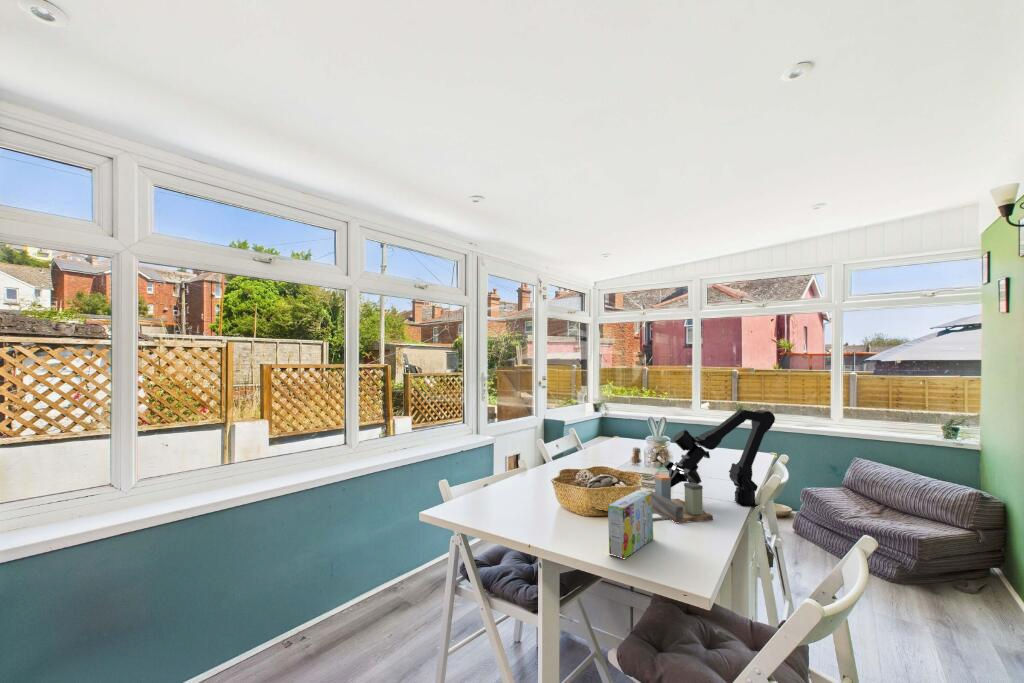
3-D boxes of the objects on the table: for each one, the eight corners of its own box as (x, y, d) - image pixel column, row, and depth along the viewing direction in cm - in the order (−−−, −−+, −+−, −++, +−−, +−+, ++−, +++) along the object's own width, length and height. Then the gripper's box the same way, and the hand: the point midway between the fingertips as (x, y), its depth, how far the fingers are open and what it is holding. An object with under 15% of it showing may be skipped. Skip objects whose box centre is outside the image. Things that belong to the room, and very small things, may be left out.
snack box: (637, 535, 153) (637, 489, 154) (654, 539, 150) (653, 492, 151) (607, 555, 137) (607, 504, 138) (625, 560, 133) (624, 507, 134)
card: (650, 507, 182) (650, 506, 182) (669, 519, 169) (669, 517, 169) (631, 509, 181) (631, 508, 181) (649, 521, 167) (649, 519, 167)
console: (678, 502, 190) (677, 488, 190) (712, 519, 168) (712, 504, 168) (644, 504, 186) (644, 491, 187) (675, 523, 165) (675, 507, 165)
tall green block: (694, 509, 174) (693, 482, 175) (703, 514, 169) (702, 485, 170) (684, 510, 173) (684, 483, 174) (693, 515, 168) (692, 486, 169)
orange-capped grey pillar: (664, 500, 187) (663, 474, 187) (671, 503, 182) (670, 477, 182) (654, 500, 186) (654, 475, 186) (661, 504, 181) (661, 478, 181)
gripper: (719, 477, 180) (694, 508, 177) (690, 467, 198) (667, 494, 195) (701, 458, 178) (676, 488, 175) (674, 449, 196) (650, 476, 193)
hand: (667, 487), depth 185 cm, fingers closed, pressing on orange-capped grey pillar
